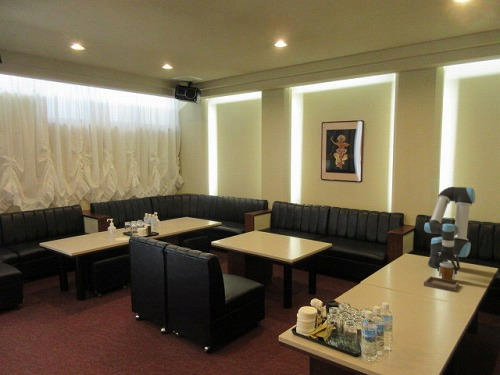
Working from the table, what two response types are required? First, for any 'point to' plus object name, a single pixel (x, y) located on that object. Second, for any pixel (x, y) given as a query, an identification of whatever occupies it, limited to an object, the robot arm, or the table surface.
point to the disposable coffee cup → (447, 270)
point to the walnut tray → (441, 284)
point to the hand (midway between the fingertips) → (446, 277)
